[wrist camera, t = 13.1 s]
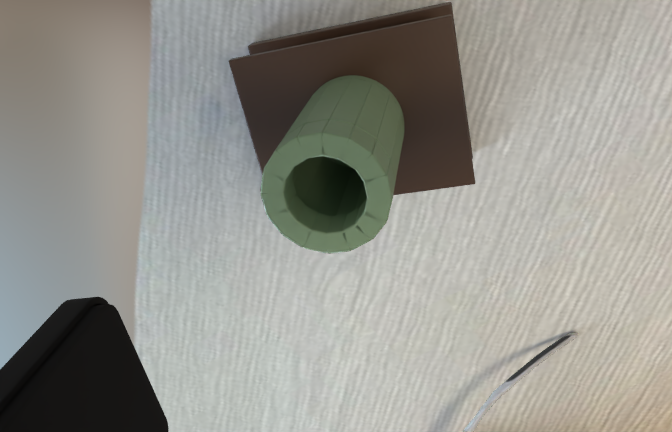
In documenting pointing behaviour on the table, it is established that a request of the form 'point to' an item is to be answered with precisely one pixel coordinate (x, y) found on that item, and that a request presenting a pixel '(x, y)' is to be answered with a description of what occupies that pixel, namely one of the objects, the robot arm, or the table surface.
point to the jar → (336, 167)
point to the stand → (380, 65)
